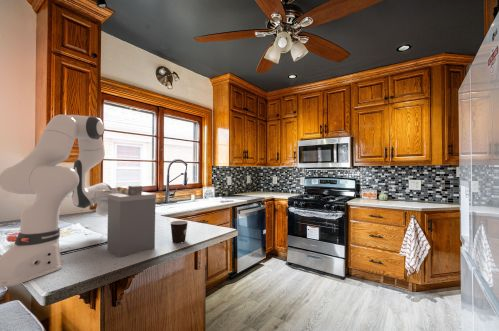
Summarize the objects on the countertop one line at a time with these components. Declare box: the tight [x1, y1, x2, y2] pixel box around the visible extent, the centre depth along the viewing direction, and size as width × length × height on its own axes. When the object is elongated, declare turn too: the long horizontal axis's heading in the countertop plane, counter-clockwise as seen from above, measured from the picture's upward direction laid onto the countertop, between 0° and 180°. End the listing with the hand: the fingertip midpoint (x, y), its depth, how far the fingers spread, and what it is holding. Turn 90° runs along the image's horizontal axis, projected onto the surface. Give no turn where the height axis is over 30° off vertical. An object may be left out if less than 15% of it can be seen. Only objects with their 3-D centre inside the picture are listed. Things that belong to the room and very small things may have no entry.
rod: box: [115, 185, 143, 195], centre depth 118 cm, size 21×4×4 cm, turn 49°
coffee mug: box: [170, 220, 188, 244], centre depth 125 cm, size 12×9×10 cm
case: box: [106, 191, 157, 258], centre depth 114 cm, size 14×16×26 cm
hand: (121, 188), depth 122 cm, fingers closed on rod, 3 cm apart
